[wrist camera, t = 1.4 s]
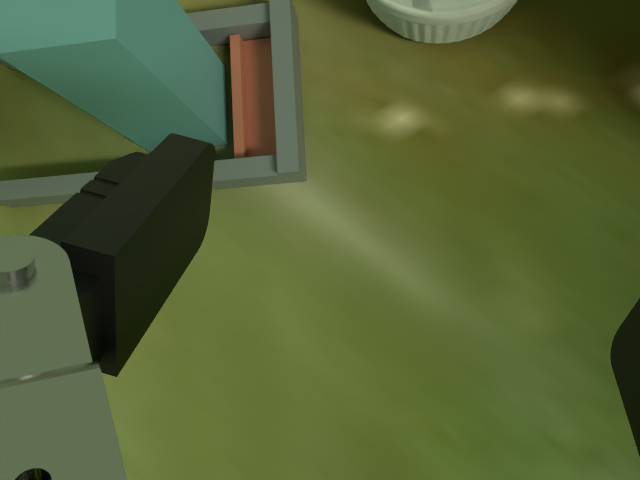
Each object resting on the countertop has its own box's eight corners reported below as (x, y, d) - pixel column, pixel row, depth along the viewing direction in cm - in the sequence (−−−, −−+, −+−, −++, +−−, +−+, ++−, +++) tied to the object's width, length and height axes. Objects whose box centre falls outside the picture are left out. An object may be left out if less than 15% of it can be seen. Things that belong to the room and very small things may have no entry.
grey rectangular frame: (297, 16, 36) (289, -6, 33) (306, 181, 34) (298, 171, 32) (12, 53, 38) (-15, 35, 36) (10, 207, 37) (-18, 200, 34)
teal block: (225, 66, 36) (114, -85, 22) (228, 144, 35) (116, 38, 22) (149, 75, 37) (-5, -66, 23) (150, 152, 36) (-7, 54, 22)
